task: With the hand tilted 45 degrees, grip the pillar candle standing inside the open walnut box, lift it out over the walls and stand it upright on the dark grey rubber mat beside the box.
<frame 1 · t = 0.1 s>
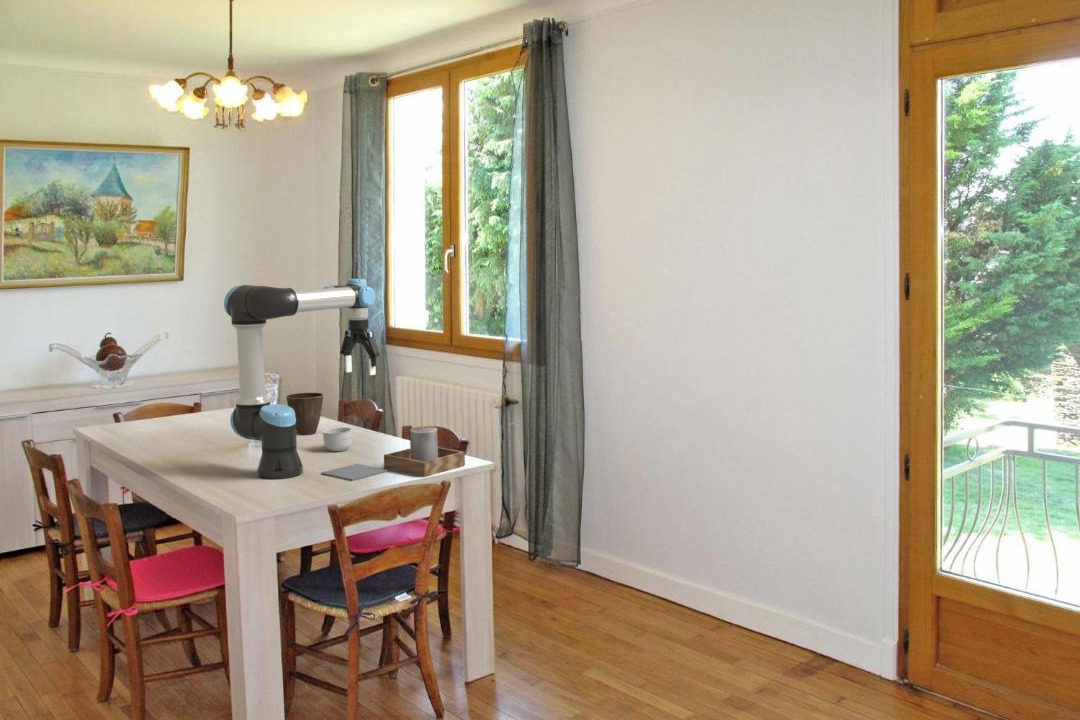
hand: (360, 373, 386), 28 cm above the table, tool pointing down, fingers open, 13 cm apart
pillar candle: (424, 467, 350), resting in walnut box
teacup: (339, 449, 382), on the table
plant pot: (306, 433, 413), on the table
grey rubber mat: (354, 472, 344), on the table
walnut box: (424, 467, 350), on the table
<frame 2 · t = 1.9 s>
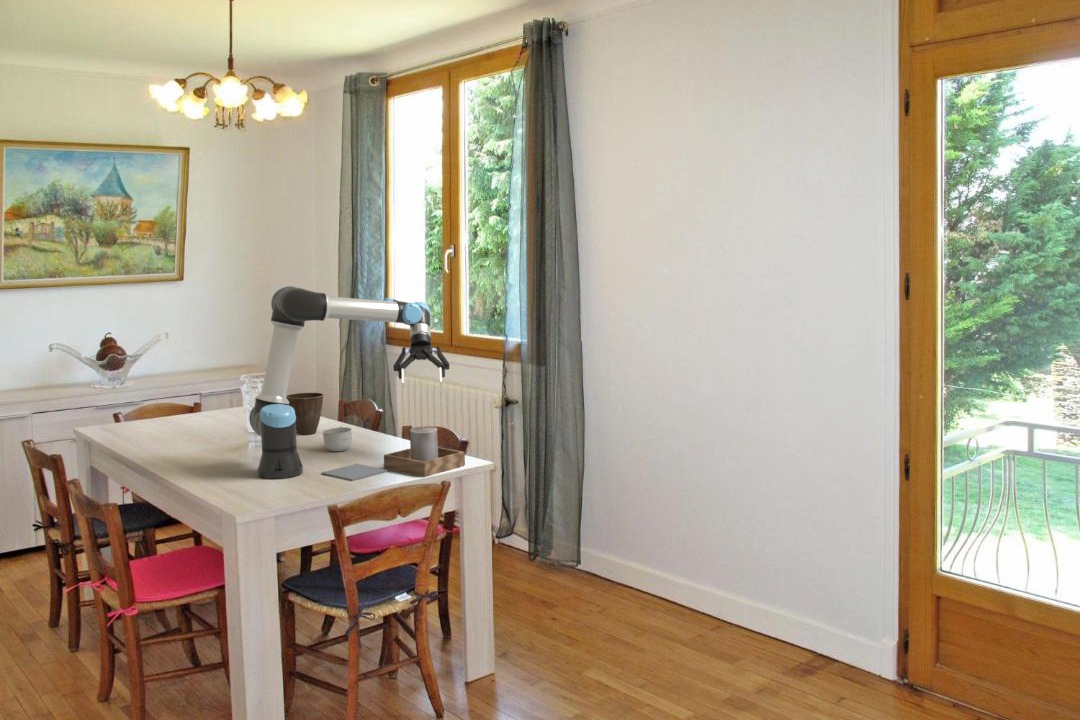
hand: (422, 384, 357), 28 cm above the table, tool tilted 45°, fingers open, 13 cm apart
nothing on the table moved.
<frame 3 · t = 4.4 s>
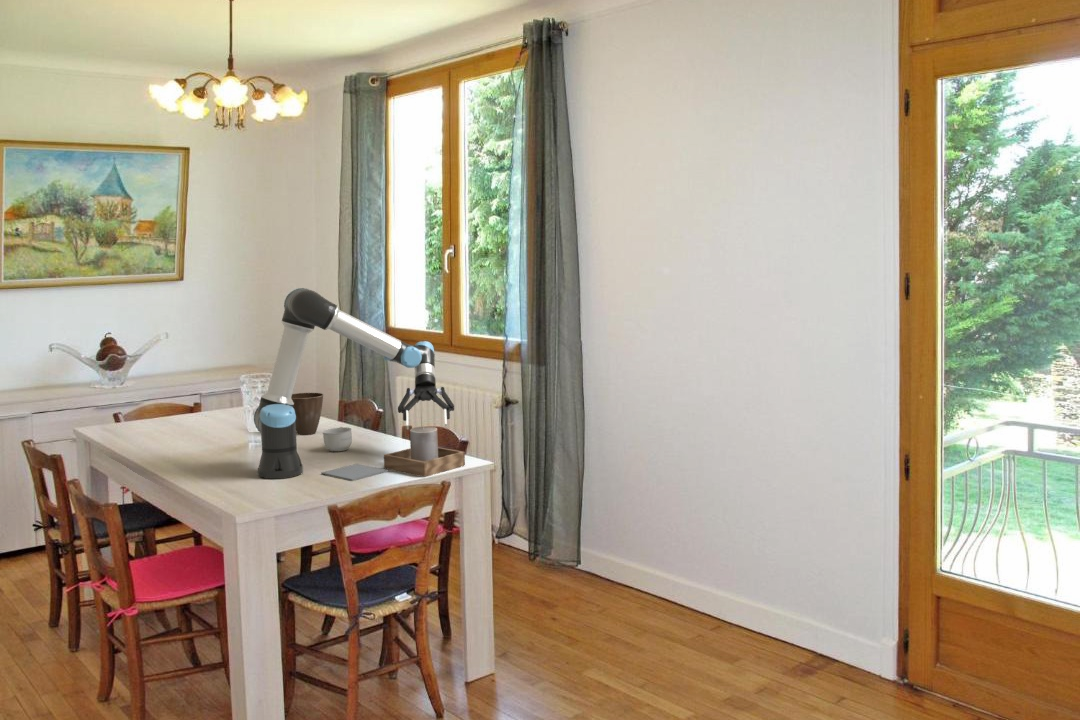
hand: (426, 426, 355), 13 cm above the table, tool tilted 45°, fingers open, 13 cm apart
nothing on the table moved.
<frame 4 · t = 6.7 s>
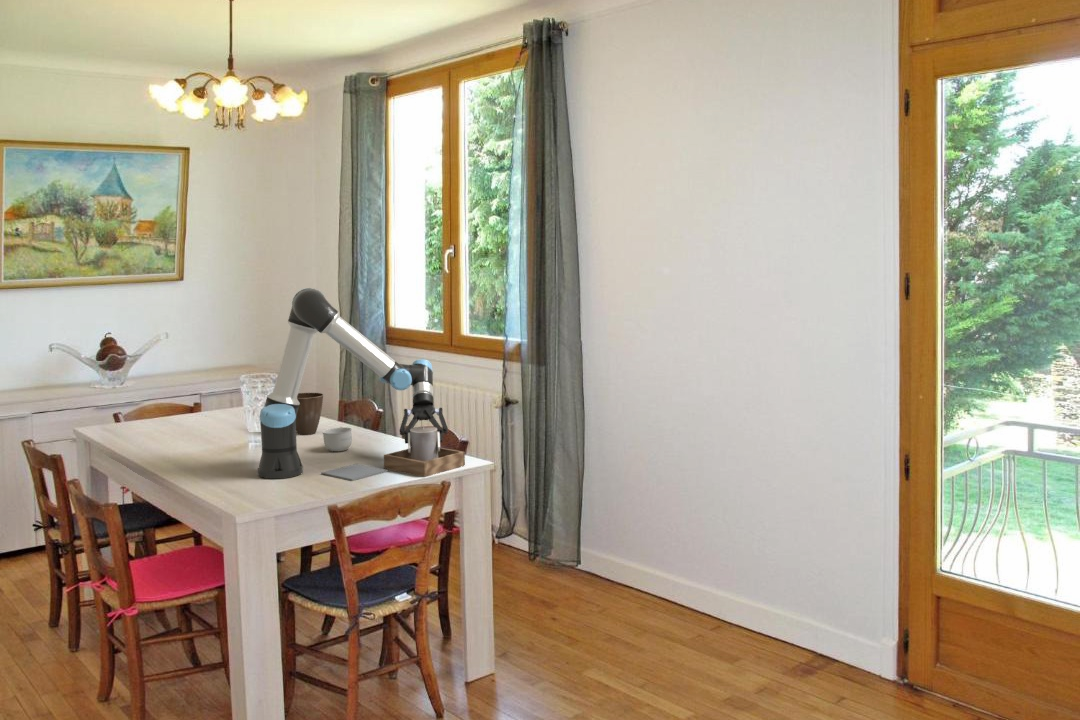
hand: (424, 449, 346), 7 cm above the table, tool tilted 45°, fingers closed on pillar candle, 10 cm apart
pillar candle: (424, 467, 350), resting in walnut box, touching gripper
everything else where it was.
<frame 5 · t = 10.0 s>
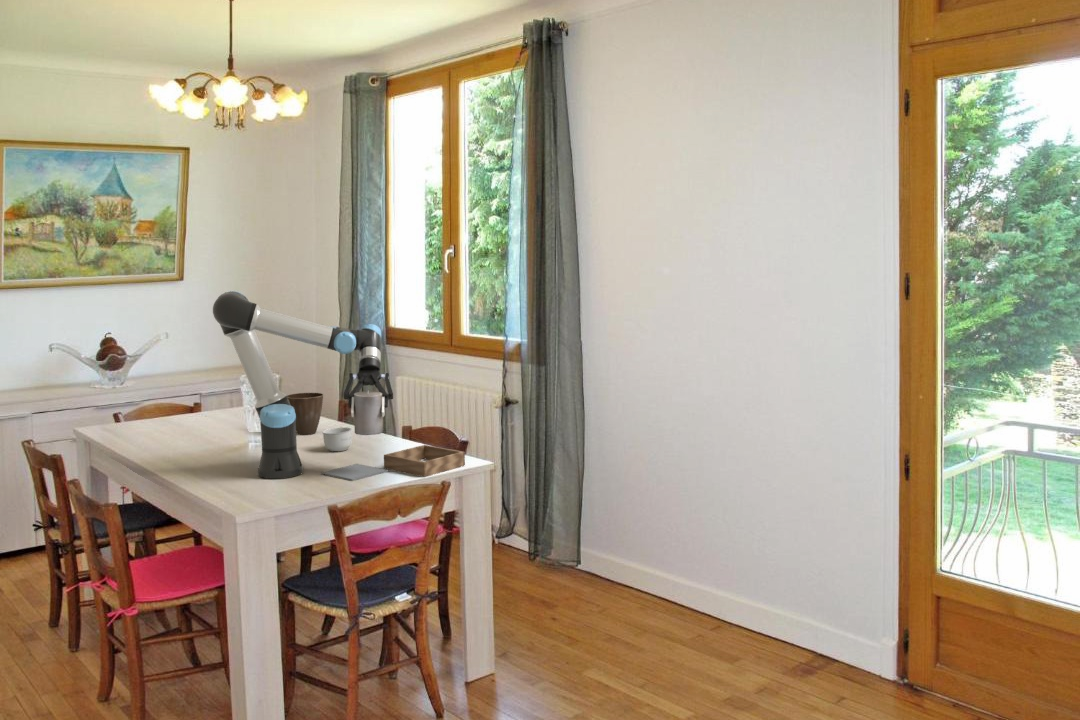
hand: (367, 414, 339), 21 cm above the table, tool tilted 45°, fingers closed on pillar candle, 10 cm apart
pillar candle: (368, 433, 343), point 14 cm above the table, touching gripper
everything else where it was.
when the fingers open (9 cm above the table, at t = 13.1 s): pillar candle drops 1 cm, resting on grey rubber mat.
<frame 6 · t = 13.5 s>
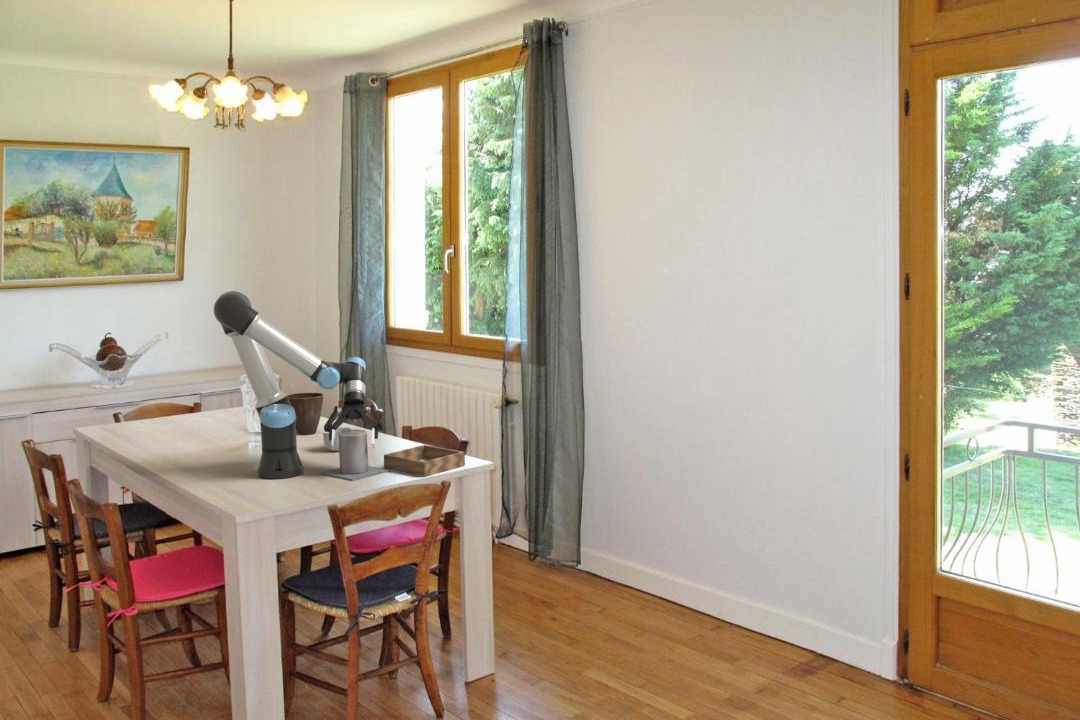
hand: (353, 446, 340), 10 cm above the table, tool tilted 45°, fingers open, 13 cm apart
pillar candle: (354, 471, 344), resting on grey rubber mat
everything else where it was.
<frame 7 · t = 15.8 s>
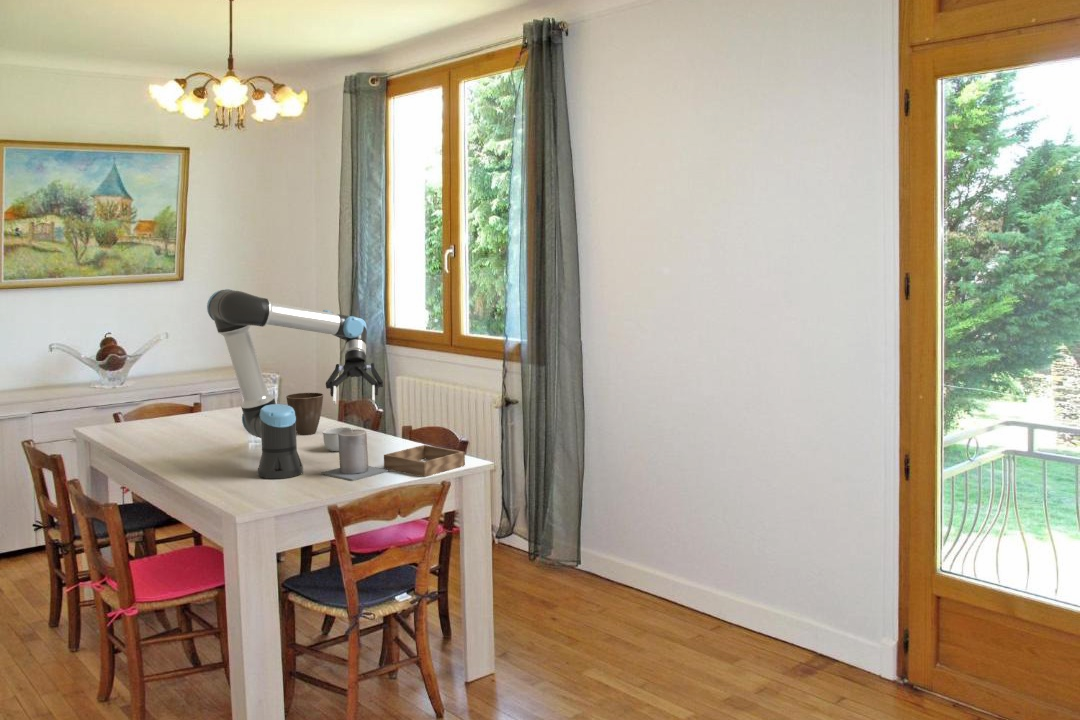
hand: (354, 402, 351), 23 cm above the table, tool tilted 45°, fingers open, 13 cm apart
nothing on the table moved.
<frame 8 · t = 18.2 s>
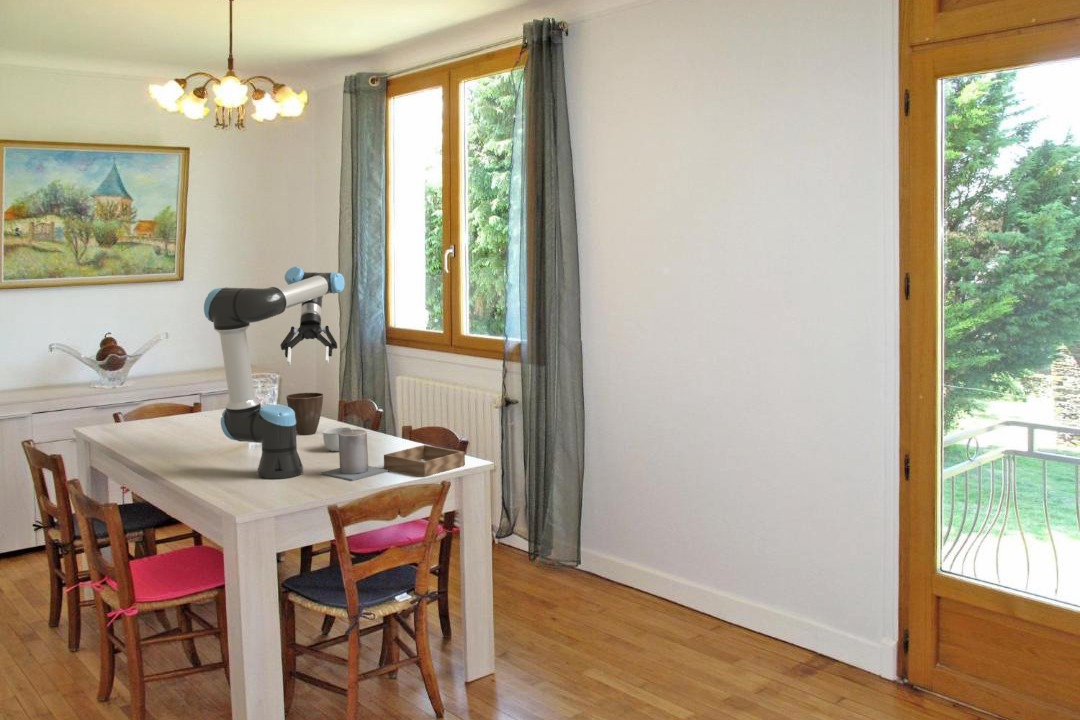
hand: (307, 363, 360), 36 cm above the table, tool tilted 45°, fingers open, 13 cm apart
nothing on the table moved.
at the end: pillar candle inside the target area on the grey rubber mat (0.2 cm from its centre), point 0.4 cm above the grey rubber mat's base; pillar candle tilted 0°; pillar candle touching grey rubber mat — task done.
